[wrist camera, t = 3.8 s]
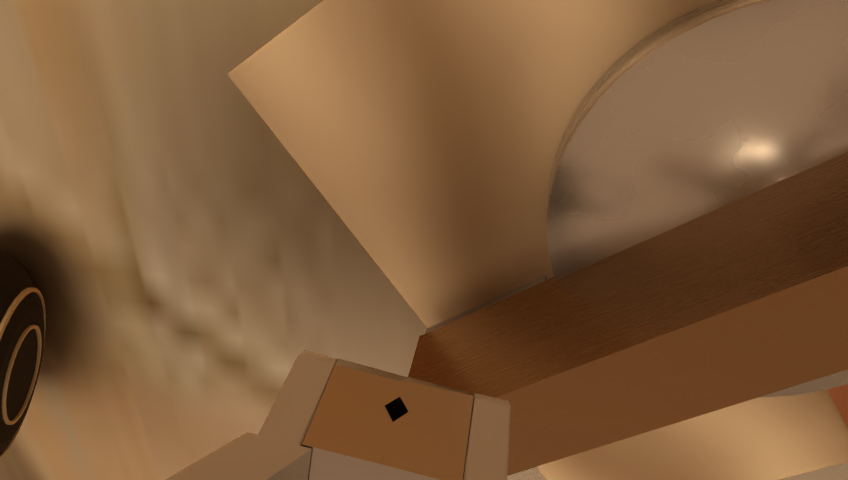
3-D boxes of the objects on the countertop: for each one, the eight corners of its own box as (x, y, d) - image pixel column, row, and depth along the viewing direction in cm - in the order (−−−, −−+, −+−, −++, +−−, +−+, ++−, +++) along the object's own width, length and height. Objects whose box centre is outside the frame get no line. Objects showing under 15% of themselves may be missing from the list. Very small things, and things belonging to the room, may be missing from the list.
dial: (935, -132, 13) (1134, -127, 8) (1061, 275, 17) (1246, 426, 12) (345, 209, 19) (284, 313, 15) (531, 448, 23) (526, 588, 18)
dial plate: (1134, -617, 11) (1227, -694, 9) (1280, 301, 18) (1347, 342, 16) (248, 59, 19) (223, 76, 18) (583, 497, 26) (585, 535, 25)
